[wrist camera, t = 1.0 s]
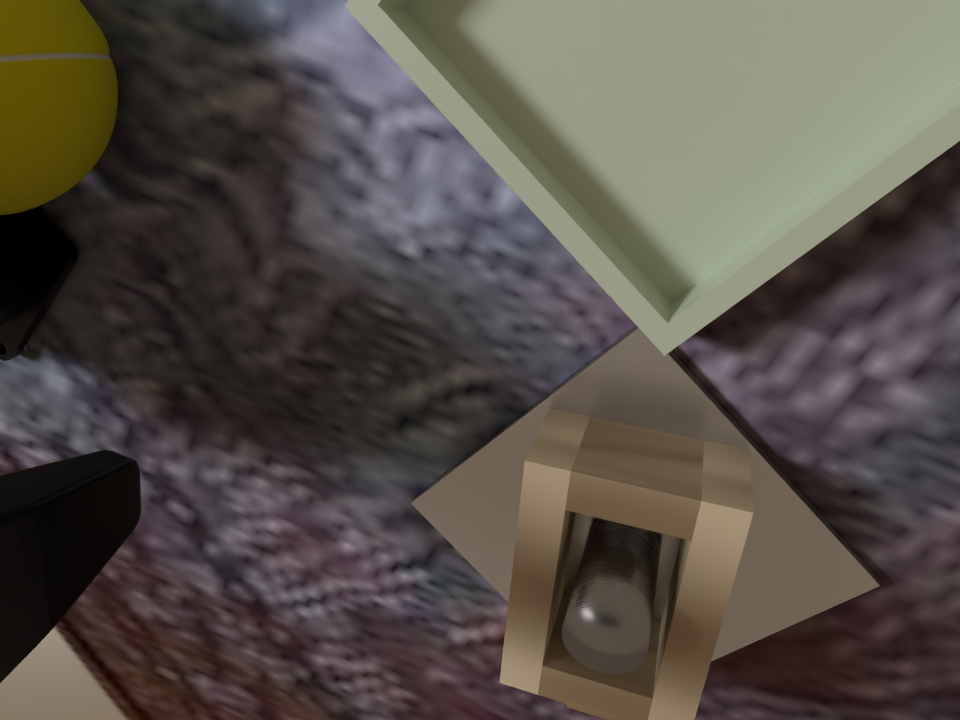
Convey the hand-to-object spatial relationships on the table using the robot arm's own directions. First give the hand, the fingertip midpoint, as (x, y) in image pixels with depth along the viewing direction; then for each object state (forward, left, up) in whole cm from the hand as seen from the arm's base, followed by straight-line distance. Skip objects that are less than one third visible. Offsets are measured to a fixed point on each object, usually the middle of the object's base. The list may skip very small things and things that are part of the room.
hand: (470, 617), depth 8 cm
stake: (-5, -6, -13) cm, 15 cm away
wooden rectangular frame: (-5, -6, -12) cm, 15 cm away
